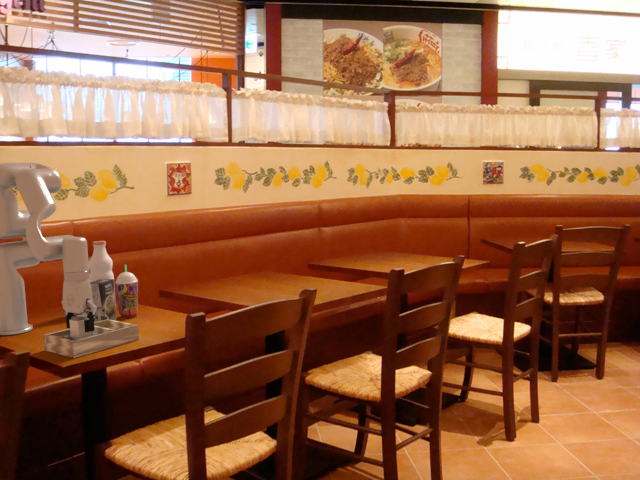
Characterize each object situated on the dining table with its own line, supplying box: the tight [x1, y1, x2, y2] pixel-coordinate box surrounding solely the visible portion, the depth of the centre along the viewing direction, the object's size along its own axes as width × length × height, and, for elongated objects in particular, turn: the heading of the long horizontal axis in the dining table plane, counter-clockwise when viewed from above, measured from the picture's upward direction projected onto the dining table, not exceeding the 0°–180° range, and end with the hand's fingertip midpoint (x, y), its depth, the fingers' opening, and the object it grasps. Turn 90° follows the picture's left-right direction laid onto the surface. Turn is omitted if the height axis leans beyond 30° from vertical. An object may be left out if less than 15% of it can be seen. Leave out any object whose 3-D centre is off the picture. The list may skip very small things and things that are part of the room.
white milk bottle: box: [88, 240, 117, 307], centre depth 263 cm, size 9×9×28 cm
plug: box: [69, 313, 91, 338], centre depth 211 cm, size 4×4×9 cm
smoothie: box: [114, 264, 139, 319], centre depth 253 cm, size 8×8×20 cm
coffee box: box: [87, 278, 117, 322], centre depth 241 cm, size 9×6×16 cm
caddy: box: [43, 319, 139, 359], centre depth 215 cm, size 16×24×5 cm, turn 144°
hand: (80, 329), depth 211 cm, fingers open, 9 cm apart
